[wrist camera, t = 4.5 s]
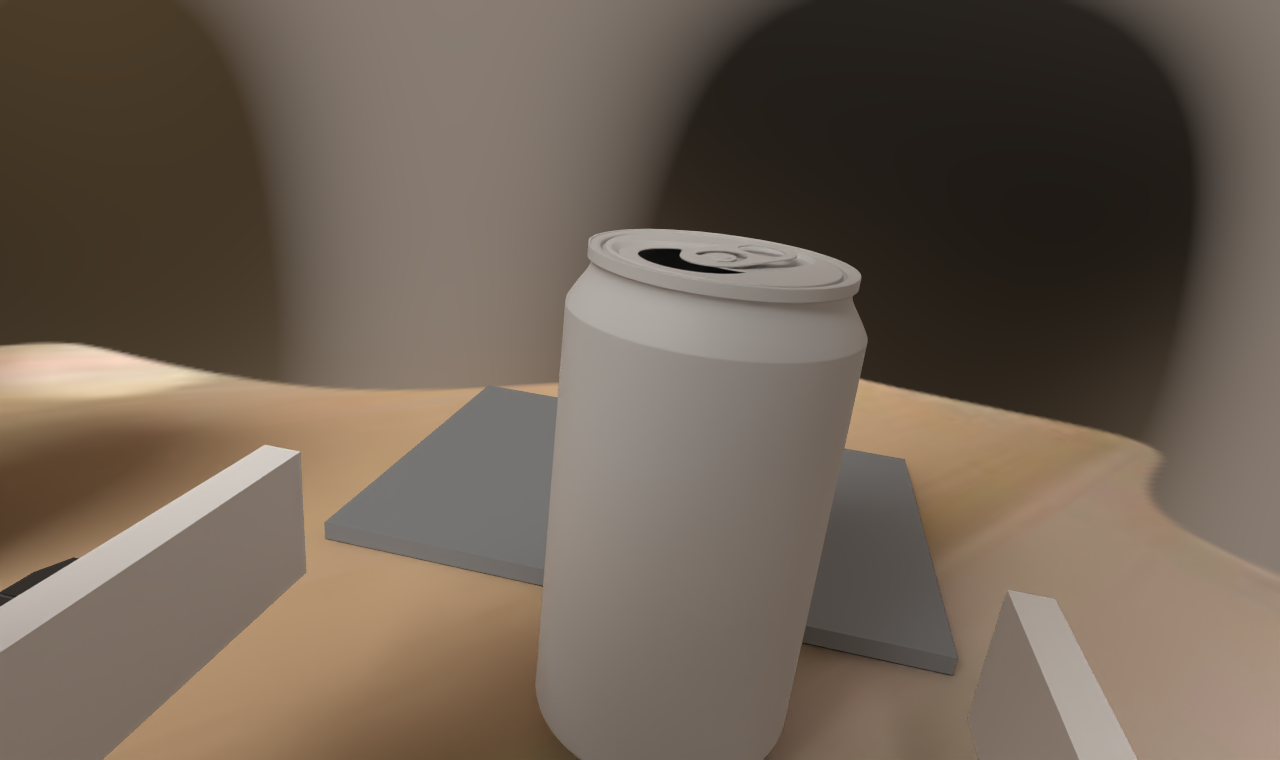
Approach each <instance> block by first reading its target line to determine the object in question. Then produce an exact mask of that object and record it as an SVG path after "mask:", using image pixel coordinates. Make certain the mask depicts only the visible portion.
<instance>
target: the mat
mask: <svg viewBox="0 0 1280 760" xmlns="http://www.w3.org/2000/svg"><path fill="white" fill-rule="evenodd" d="M557 403H558V398H556V397H551V396H545V395H540V394H534V393H528V392H523V391H517V390H511V389H506V388H500V387H495V386H487V387H486V388H485V389H484V390H482V391H481V392H480V393H479V394H478V395H477V396H475V397H474V398H473V399H472V400H471V401H469V402H468V403H467V404H466V405H465V406H463V407H462V408H461V409H460V410H459V411H457V412H456V413H455V414H454V415H453V416H451V417H450V418H449V419H448V420H447V421H445V422H444V423H443V424H442V425H441V426H439V427H438V428H437V429H436V430H435V431H433V432H432V433H431V434H430V435H429V436H427V437H426V438H425V439H424V440H423V441H421V442H420V443H419V444H418V445H417V446H415V447H414V448H413V449H412V450H411V451H410V452H408V453H407V454H406V455H405V456H404V457H402V458H401V459H400V460H399V461H398V462H396V463H395V464H394V465H393V466H392V467H390V468H389V469H388V470H387V471H386V472H384V473H383V474H382V475H381V476H380V477H378V478H377V479H376V480H375V481H374V482H372V483H371V484H370V485H369V486H368V487H366V488H365V489H364V490H363V491H362V492H360V493H359V494H358V495H357V496H356V497H354V498H353V499H352V500H351V501H350V502H348V503H347V504H346V505H345V506H344V507H342V508H341V509H340V510H339V511H338V512H337V513H335V514H334V515H333V516H332V517H331V518H329V519H328V520H327V521H326V522H325V538H326V539H330V540H335V541H340V542H344V543H349V544H353V545H358V546H363V547H367V548H372V549H376V550H381V551H385V552H390V553H395V554H399V555H404V556H408V557H413V558H418V559H422V560H427V561H431V562H436V563H440V564H445V565H450V566H454V567H459V568H463V569H468V570H473V571H477V572H482V573H486V574H491V575H496V576H500V577H505V578H509V579H514V580H518V581H523V582H528V583H532V584H537V585H541V586H543V581H544V568H545V555H546V543H547V530H548V517H549V504H550V492H551V479H552V466H553V454H554V441H555V428H556V415H557ZM802 642H803V643H807V644H812V645H817V646H821V647H826V648H830V649H835V650H839V651H844V652H849V653H853V654H858V655H862V656H867V657H872V658H876V659H881V660H885V661H890V662H894V663H899V664H904V665H908V666H913V667H917V668H922V669H927V670H931V671H936V672H940V673H945V674H950V675H953V674H954V670H955V667H956V663H957V660H958V656H957V653H956V649H955V645H954V642H953V638H952V634H951V630H950V627H949V623H948V619H947V615H946V612H945V608H944V604H943V600H942V597H941V593H940V589H939V585H938V582H937V578H936V574H935V570H934V567H933V563H932V559H931V555H930V552H929V548H928V544H927V541H926V537H925V533H924V529H923V526H922V522H921V518H920V514H919V511H918V507H917V503H916V499H915V496H914V492H913V488H912V484H911V481H910V477H909V473H908V469H907V466H906V462H905V459H900V458H894V457H889V456H883V455H877V454H872V453H866V452H860V451H855V450H849V449H844V452H843V456H842V461H841V466H840V470H839V475H838V479H837V484H836V489H835V493H834V498H833V503H832V507H831V512H830V516H829V521H828V526H827V530H826V535H825V539H824V544H823V549H822V553H821V558H820V562H819V567H818V572H817V576H816V581H815V586H814V590H813V595H812V599H811V604H810V609H809V613H808V618H807V622H806V627H805V632H804V636H803V641H802Z"/></svg>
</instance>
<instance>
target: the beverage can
mask: <svg viewBox="0 0 1280 760" xmlns="http://www.w3.org/2000/svg"><path fill="white" fill-rule="evenodd" d="M588 258H589V259H590V260H591V263H590V265H589V267H588V268H587V269H586V271H585V272H584V273H583V274H582V275H581V277H580V278H579V279H578V280H577V282H576V283H575V284H574V285H573V287H572V288H571V289H570V291H569V292H568V294H567V296H566V301H565V314H564V327H563V340H562V353H561V365H560V377H559V390H558V403H557V415H556V428H555V441H554V454H553V466H552V479H551V492H550V504H549V517H548V530H547V543H546V555H545V568H544V581H543V594H542V606H541V619H540V632H539V644H538V657H537V670H536V683H535V689H536V697H537V701H538V704H539V708H540V711H541V713H542V716H543V718H544V720H545V721H546V723H547V725H548V727H549V728H550V730H551V731H552V733H553V734H554V735H555V736H556V738H557V739H558V740H559V741H560V742H561V743H562V744H563V745H564V746H565V747H566V748H567V749H568V750H569V751H570V752H571V753H573V754H574V755H575V756H576V757H577V758H579V759H580V760H764V759H765V757H766V756H767V755H768V754H769V753H770V752H771V750H772V749H773V748H774V746H775V745H776V743H777V741H778V739H779V737H780V735H781V733H782V730H783V727H784V723H785V719H786V715H787V710H788V705H789V701H790V696H791V692H792V687H793V682H794V678H795V673H796V668H797V664H798V659H799V655H800V650H801V645H802V641H803V636H804V632H805V627H806V622H807V618H808V613H809V609H810V604H811V599H812V595H813V590H814V586H815V581H816V576H817V572H818V567H819V562H820V558H821V553H822V549H823V544H824V539H825V535H826V530H827V526H828V521H829V516H830V512H831V507H832V503H833V498H834V493H835V489H836V484H837V479H838V475H839V470H840V466H841V461H842V456H843V452H844V447H845V443H846V438H847V433H848V429H849V424H850V420H851V415H852V410H853V406H854V401H855V397H856V392H857V387H858V383H859V378H860V373H861V369H862V364H863V359H864V355H865V350H866V346H867V335H866V332H865V329H864V327H863V324H862V322H861V319H860V317H859V315H858V313H857V311H856V309H855V306H854V303H853V299H852V296H853V295H854V294H856V293H857V292H858V290H859V286H860V281H861V274H860V273H859V272H858V270H856V269H855V268H853V267H852V266H850V265H848V264H846V263H844V262H842V261H840V260H837V259H834V258H832V257H829V256H826V255H822V254H819V253H816V252H813V251H809V250H805V249H801V248H797V247H792V246H789V245H784V244H779V243H774V242H768V241H764V240H758V239H752V238H746V237H739V236H732V235H724V234H716V233H707V232H696V231H684V230H667V229H665V230H664V229H628V230H616V231H608V232H604V233H599V234H596V235H594V236H592V237H591V238H590V239H589V244H588Z"/></svg>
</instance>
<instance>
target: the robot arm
mask: <svg viewBox="0 0 1280 760" xmlns="http://www.w3.org/2000/svg"><path fill="white" fill-rule="evenodd" d="M305 573H306V556H305V536H304V515H303V494H302V473H301V453H300V452H299V451H294V450H289V449H284V448H279V447H274V446H269V445H264V446H262V447H260V448H259V449H257V450H255V451H254V452H252V453H251V454H249V455H247V456H246V457H244V458H242V459H241V460H239V461H237V462H236V463H234V464H233V465H231V466H229V467H228V468H226V469H224V470H223V471H221V472H220V473H218V474H216V475H215V476H213V477H211V478H210V479H208V480H206V481H205V482H203V483H202V484H200V485H198V486H197V487H195V488H193V489H192V490H190V491H188V492H187V493H185V494H184V495H182V496H180V497H179V498H177V499H175V500H174V501H172V502H170V503H169V504H167V505H166V506H164V507H162V508H161V509H159V510H157V511H156V512H154V513H153V514H151V515H149V516H148V517H146V518H144V519H143V520H141V521H139V522H138V523H136V524H135V525H133V526H131V527H130V528H128V529H126V530H125V531H123V532H121V533H120V534H118V535H117V536H115V537H113V538H112V539H110V540H108V541H107V542H105V543H103V544H102V545H100V546H99V547H97V548H95V549H94V550H92V551H90V552H89V553H87V554H86V555H84V556H82V557H81V558H79V559H78V558H71V559H68V560H66V561H63V562H60V563H58V564H55V565H52V566H49V567H47V568H44V569H41V570H39V571H36V572H33V573H32V574H30V575H28V576H27V577H25V578H23V579H21V580H20V581H18V582H16V583H15V584H13V585H11V586H10V587H8V588H6V589H5V590H3V591H1V592H0V760H103V759H104V758H105V757H106V756H107V755H108V754H109V753H110V752H111V751H112V750H113V749H115V748H116V747H117V746H118V745H119V744H120V743H121V742H122V741H123V740H124V739H125V738H127V737H128V736H129V735H130V734H131V733H132V732H133V731H134V730H135V729H136V728H137V727H139V726H140V725H141V724H142V723H143V722H144V721H145V720H146V719H147V718H148V717H149V716H151V715H152V714H153V713H154V712H155V711H156V710H157V709H158V708H159V707H160V706H161V705H163V704H164V703H165V702H166V701H167V700H168V699H169V698H170V697H171V696H172V695H173V694H174V693H176V692H177V691H178V690H179V689H180V688H181V687H182V686H183V685H184V684H185V683H186V682H188V681H189V680H190V679H191V678H192V677H193V676H194V675H195V674H196V673H197V672H198V671H200V670H201V669H202V668H203V667H204V666H205V665H206V664H207V663H208V662H209V661H210V660H212V659H213V658H214V657H215V656H216V655H217V654H218V653H219V652H220V651H221V650H222V649H224V648H225V647H226V646H227V645H228V644H229V643H230V642H231V641H232V640H233V639H234V638H235V637H237V636H238V635H239V634H240V633H241V632H242V631H243V630H244V629H245V628H246V627H247V626H249V625H250V624H251V623H252V622H253V621H254V620H255V619H256V618H257V617H258V616H259V615H261V614H262V613H263V612H264V611H265V610H266V609H267V608H268V607H269V606H270V605H271V604H273V603H274V602H275V601H276V600H277V599H278V598H279V597H280V596H281V595H282V594H283V593H285V592H286V591H287V590H288V589H289V588H290V587H291V586H292V585H293V584H294V583H295V582H296V581H298V580H299V579H300V578H301V577H302V576H303V575H304V574H305ZM967 720H968V723H969V727H970V731H971V735H972V738H973V742H974V746H975V750H976V753H977V757H978V760H1138V759H1137V757H1136V756H1135V754H1134V752H1133V750H1132V748H1131V746H1130V744H1129V742H1128V740H1127V738H1126V736H1125V734H1124V732H1123V730H1122V728H1121V726H1120V724H1119V722H1118V720H1117V718H1116V717H1115V715H1114V713H1113V711H1112V709H1111V707H1110V705H1109V703H1108V701H1107V699H1106V697H1105V695H1104V693H1103V691H1102V689H1101V687H1100V685H1099V683H1098V681H1097V679H1096V678H1095V676H1094V674H1093V672H1092V670H1091V668H1090V666H1089V664H1088V662H1087V660H1086V658H1085V656H1084V654H1083V652H1082V650H1081V648H1080V646H1079V644H1078V642H1077V640H1076V639H1075V637H1074V635H1073V633H1072V631H1071V629H1070V627H1069V625H1068V623H1067V621H1066V619H1065V617H1064V615H1063V613H1062V611H1061V609H1060V607H1059V605H1058V603H1057V601H1056V600H1055V599H1053V598H1048V597H1043V596H1038V595H1033V594H1028V593H1023V592H1018V591H1012V590H1007V592H1006V595H1005V598H1004V602H1003V605H1002V608H1001V611H1000V614H999V618H998V621H997V624H996V627H995V630H994V634H993V637H992V640H991V643H990V646H989V650H988V653H987V656H986V659H985V662H984V666H983V669H982V672H981V675H980V678H979V682H978V685H977V688H976V691H975V694H974V698H973V701H972V704H971V707H970V710H969V714H968V717H967Z"/></svg>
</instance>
